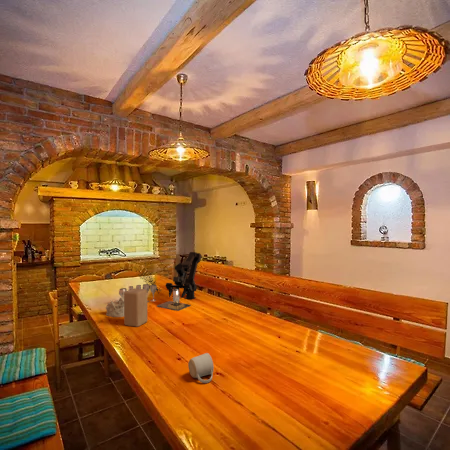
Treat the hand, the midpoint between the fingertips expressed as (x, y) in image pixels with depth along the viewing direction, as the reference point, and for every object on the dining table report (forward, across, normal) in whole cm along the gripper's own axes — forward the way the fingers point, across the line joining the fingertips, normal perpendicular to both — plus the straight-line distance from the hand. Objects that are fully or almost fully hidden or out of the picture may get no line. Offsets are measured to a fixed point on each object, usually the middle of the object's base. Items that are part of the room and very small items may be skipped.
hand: (175, 297), depth 202 cm
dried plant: (-19, -44, +30) cm, 57 cm away
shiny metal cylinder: (+4, 0, +6) cm, 7 cm away
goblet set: (+1, -34, +11) cm, 36 cm away
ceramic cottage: (+18, -31, -6) cm, 37 cm away
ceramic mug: (+62, +48, -50) cm, 93 cm away
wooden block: (+29, -10, -18) cm, 36 cm away
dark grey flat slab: (+2, -4, +10) cm, 11 cm away
